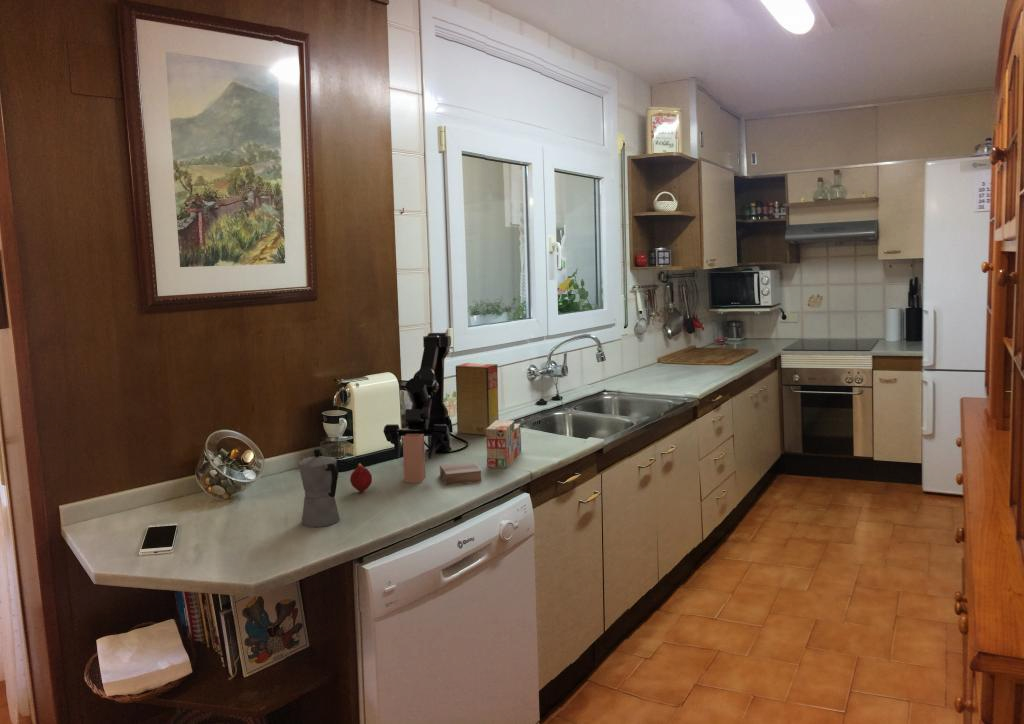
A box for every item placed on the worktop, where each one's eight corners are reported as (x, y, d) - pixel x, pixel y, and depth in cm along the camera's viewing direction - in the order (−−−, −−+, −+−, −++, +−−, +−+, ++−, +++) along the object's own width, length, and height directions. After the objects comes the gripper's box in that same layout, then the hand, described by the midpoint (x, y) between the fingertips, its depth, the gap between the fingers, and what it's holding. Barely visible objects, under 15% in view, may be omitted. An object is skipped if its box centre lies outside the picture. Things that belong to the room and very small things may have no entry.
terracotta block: (408, 477, 220) (406, 433, 218) (425, 477, 220) (423, 433, 218) (404, 482, 215) (402, 437, 213) (421, 482, 215) (419, 437, 213)
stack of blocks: (503, 450, 250) (502, 414, 248) (521, 451, 248) (520, 414, 247) (486, 467, 229) (485, 428, 227) (506, 468, 228) (506, 428, 226)
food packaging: (500, 430, 279) (498, 363, 275) (489, 436, 270) (487, 367, 267) (468, 428, 284) (466, 362, 281) (456, 433, 276) (454, 365, 272)
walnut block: (440, 476, 221) (439, 465, 221) (473, 473, 224) (473, 462, 224) (446, 486, 212) (446, 474, 211) (481, 482, 214) (481, 470, 214)
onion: (376, 490, 208) (375, 462, 207) (364, 496, 203) (362, 467, 202) (359, 488, 211) (358, 460, 209) (346, 493, 205) (345, 465, 204)
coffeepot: (290, 519, 185) (285, 448, 183) (324, 510, 192) (320, 441, 189) (321, 535, 174) (317, 459, 172) (357, 524, 181) (353, 451, 178)
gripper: (383, 397, 219) (374, 443, 210) (446, 397, 217) (440, 443, 208) (391, 418, 228) (383, 463, 219) (452, 418, 226) (447, 464, 217)
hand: (413, 458), depth 215 cm, fingers open, 9 cm apart
